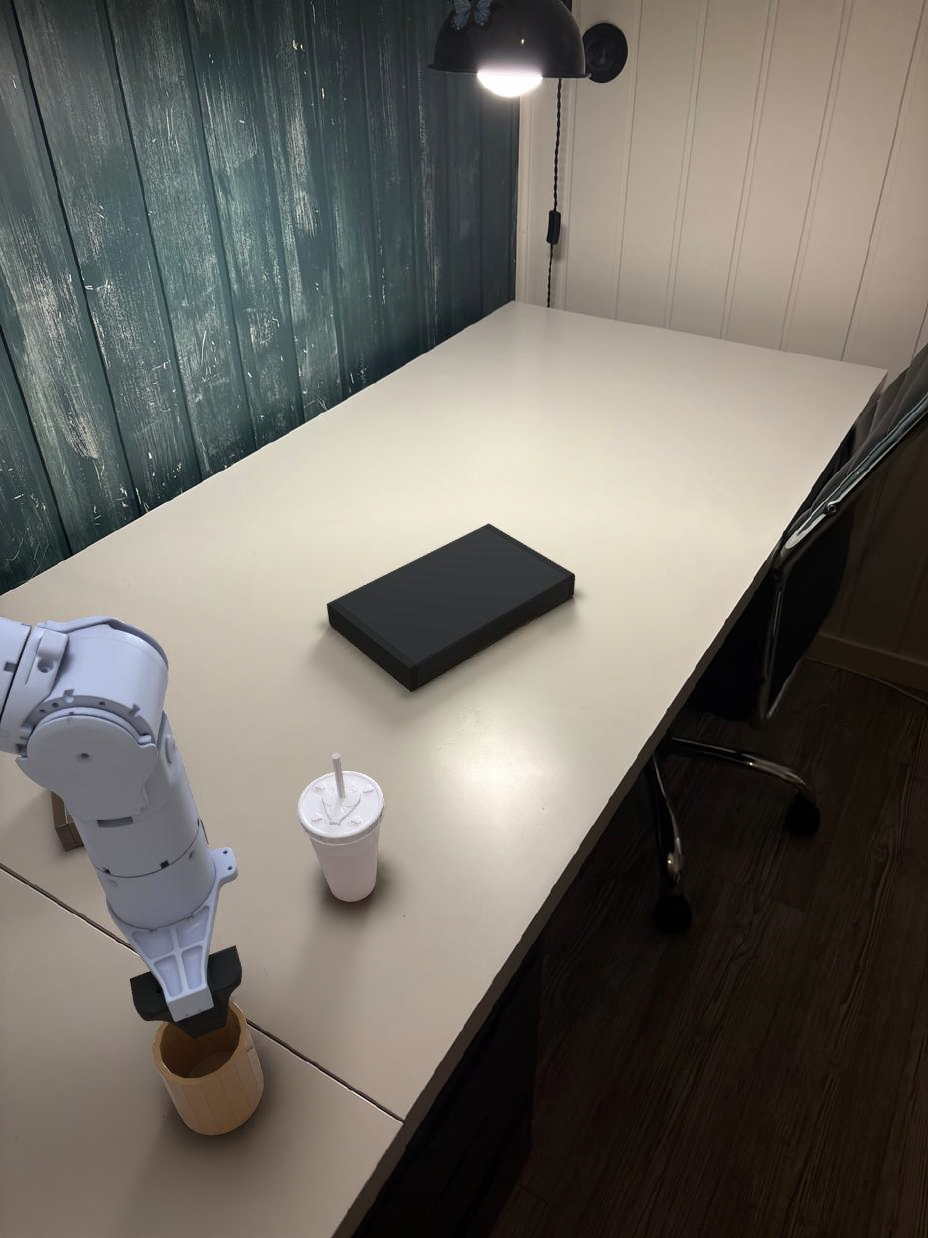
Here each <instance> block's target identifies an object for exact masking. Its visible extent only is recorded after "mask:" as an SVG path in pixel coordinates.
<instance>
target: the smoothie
mask: <svg viewBox="0 0 928 1238" xmlns="http://www.w3.org/2000/svg"><path fill="white" fill-rule="evenodd" d="M331 755H332V756H331V758H332V765H333V772H330V773H326V774H324V775H321V776H320V777H318V778H316V779H314V780H313V781H311V782H310V783H309V784H308V785H307V786H306V787H305V789H304V790H303V791H302V793H301V794H300V796H299V798H298V802H297V818H298V819H297V820H298V823H299V827H300V829H301V830H302V832H303V833H304V834H305V835H306V836H307V837H308V838H309V840H310V843H311V846H312V847H313V850H314V852H315V855H316V857H317V860H318V862H319V865H320V867H321V870H322V872H323V875H324V877H325V879H326V882H327V885H328V887H329V890H330V892H331V894H332V895H333V896H334V897H335V898H337V899H338V900H340V901H343V902H348V903H352V902H358V901H362V900H363V899H365V898H366V897H368V896H369V895H370V894H371V893H372V891H374V888H375V886H376V883H377V870H378V855H379V843H380V842H379V841H380V828H381V824H382V821H383V819H384V816H385V813H386V803H385V800H384V794H383V790H382V789H381V787H380V785H379V783H377V782H376V781H375V780H374V779H373V778H372V777H371V776H369V775H366V774H364V773H362V772H358V771H352V770H343V766H342V759H341V754H339V752H337V753H336V752H335V753H333V754H331Z"/></svg>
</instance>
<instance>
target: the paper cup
mask: <svg viewBox="0 0 928 1238" xmlns="http://www.w3.org/2000/svg"><path fill="white" fill-rule="evenodd" d="M152 1052H153V1059H154V1065H155V1067H156V1069H157V1071H158V1074H159V1075H160V1077H161V1080H162V1082H163V1084H164V1086H165V1088H166V1091H167V1092H168V1095H169V1097H170V1098H171V1101H172V1103H173V1105H174V1107H175V1109H176V1111H177V1113H178V1115H179V1116H180V1118H181V1121H183V1123H184V1124H185V1125H186V1126H187V1127H188V1128H189V1129H191V1131H193V1132H195V1133H197V1134H201V1135H205V1136H220V1135H223V1134H227V1133H230V1132H232V1131H234V1130H236V1129H238V1128H239V1127H241V1126H242V1125H243V1124H244V1123H245V1122H247V1120H248V1119H250V1117H252V1115H253V1114H254V1113H255V1111H256V1109H257V1108H258V1106H259V1104H260V1102H261V1099H262V1097H263V1094H264V1089H265V1088H264V1087H265V1076H264V1073H263V1070H262V1066H261V1061H260V1059H259V1056H258V1053H257V1049H256V1047H255V1043H254V1041H253V1037H252V1034H251V1032H250V1029H249V1025H248V1022H247V1020H246V1016H245V1013H244V1012H243V1010H242V1009H241V1008H240V1007H239V1006H238V1005H237V1003H236V1002H235V1001H234V1000H231V999H229V1010H228V1019H227V1024H226V1026H225V1027H223V1028H220V1029H218V1030H215V1031H213V1032H210V1033H208V1034H205V1035H203V1036H200V1037H198V1038H195V1039H193V1038H191V1037H190V1036H188V1035H187V1034H185V1033H184V1032H183V1031H182V1030H180V1029H179V1028H178V1027H176V1026H175V1025H173V1024H172V1023H169V1022H165V1021H162V1023H161V1024H160V1025H159V1027H158V1029H157V1030H156V1034H155V1038H154V1041H153V1046H152Z"/></svg>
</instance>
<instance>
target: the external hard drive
mask: <svg viewBox="0 0 928 1238" xmlns="http://www.w3.org/2000/svg"><path fill="white" fill-rule="evenodd" d="M575 585H576V575H575V573H574V572H572V571H570V570H569V569H567V568H565V567H563V566H562V565H560V564H559V563H557V562H556V561H553V559H550V558H548V557H547V556H545V555H543V554H542V553H540V552H538V551H537V550H534V549H533V548H531V547H530V546H528V545H526V544H525V543H523V542H522V541H520V540H518V539H516V538H515V537H513V536H511V535H510V534H508V533H506V532H504V531H503V530H502V529H500V528H498V527H496V526H495V525H493V524H491V523H486V524H484V525H482V526H480V527H478V528H476V529H474V530H472V531H470V532H468V533H466V534H464V535H463V536H460V537H458V538H456V539H455V540H451V541H450V542H448V543H446V544H444V545H441V546H440V547H438V548H436V549H434V550H432V551H430V552H428V553H426V554H424V555H422V556H420V557H418V558H416V559H414V560H412V561H410V562H407V563H406V564H404V565H402V566H400V567H398V568H396V569H393V570H392V571H389V572H388V573H386V574H384V575H382V576H379V577H377V578H375V579H374V580H371V581H370V582H368V583H366V584H364V585H362V586H359V587H357V588H355V589H353V590H352V591H351V590H350V592H348V593H346V594H343V595H342V596H341V595H340V597H338V598H334V599H333V600H331V601H329V602H327V603H326V610H327V617H328V623H329V626H330V627H332V629H334V630H335V631H336V632H338V633H339V634H340V635H341V636H342V637H344V638H345V639H346V640H348V642H350V644H352V645H353V646H355V647H356V648H358V650H360V651H361V652H362V653H363V654H364V655H366V656H367V657H368V658H370V660H372V661H373V662H374V663H376V664H377V665H378V666H379V667H380V668H382V669H383V670H384V671H386V672H387V673H388V674H389V675H390V676H391V677H393V678H394V679H395V680H397V681H398V682H399V683H400V684H401V685H402V686H404V687H405V688H406V689H407V690H409V691H410V692H411V691H414V690H415V689H417V688H418V687H420V686H422V685H423V684H425V683H428V682H429V681H430V680H432V679H434V678H436V677H437V676H439V675H441V674H442V673H444V672H446V671H447V670H449V669H451V668H453V667H454V666H456V665H458V664H459V663H461V662H463V661H464V660H466V659H468V658H469V657H471V656H473V655H475V654H476V653H478V652H480V651H482V650H483V649H485V648H487V647H488V646H490V645H491V644H493V643H495V642H496V641H498V640H500V639H502V638H504V637H505V636H507V635H508V634H511V633H513V631H515V630H518V629H519V628H520V627H522V626H524V625H526V624H527V623H529V622H531V621H532V620H534V619H536V618H537V617H539V616H541V615H543V614H544V613H546V612H548V611H550V610H551V609H553V608H554V607H556V606H557V605H560V604H561V603H563V602H565V601H566V600H567V599H569V598H571V597H574V595H575V589H576V587H575Z"/></svg>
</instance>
